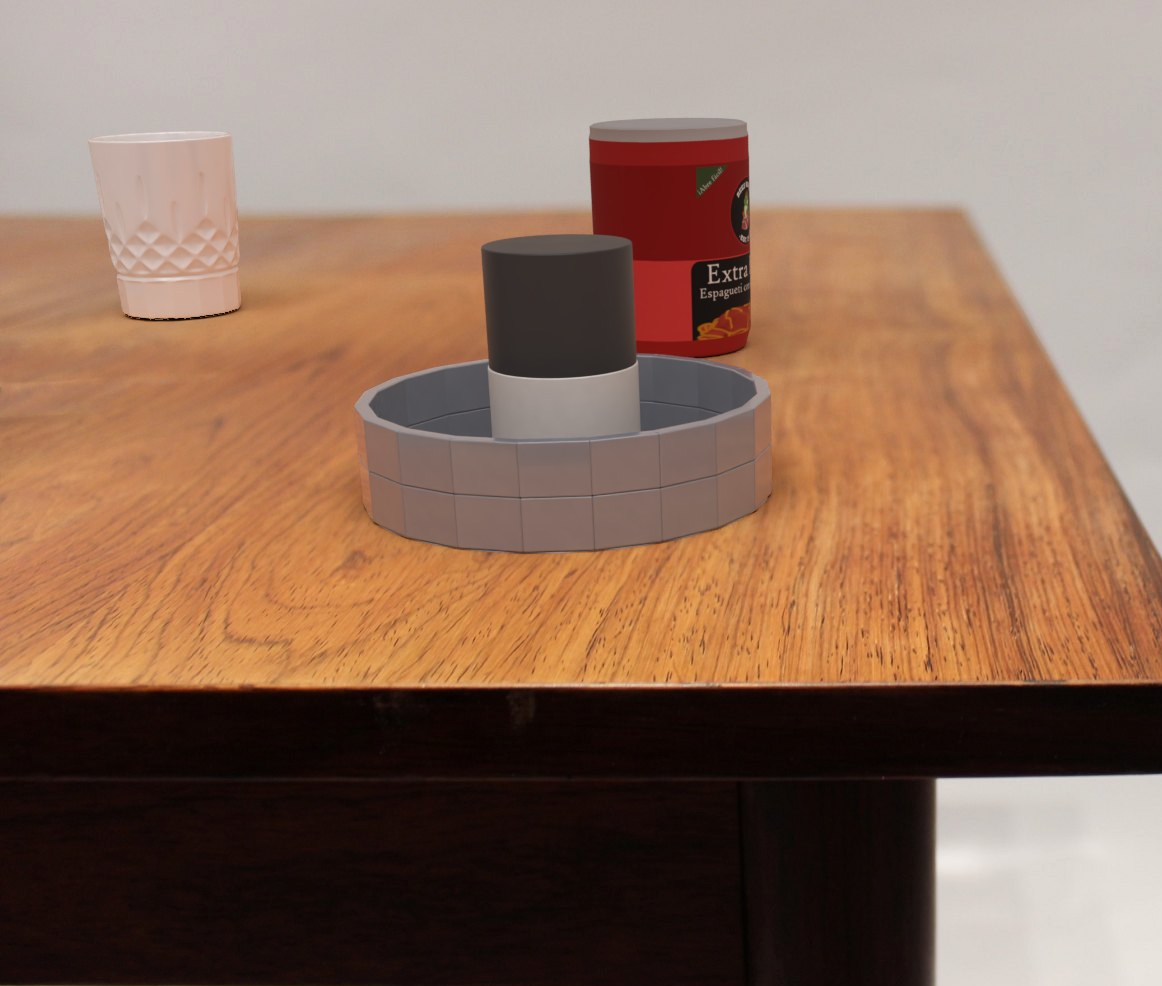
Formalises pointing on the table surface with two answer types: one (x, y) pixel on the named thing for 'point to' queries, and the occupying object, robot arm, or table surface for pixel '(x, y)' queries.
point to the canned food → (679, 227)
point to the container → (561, 336)
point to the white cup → (170, 220)
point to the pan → (565, 462)
